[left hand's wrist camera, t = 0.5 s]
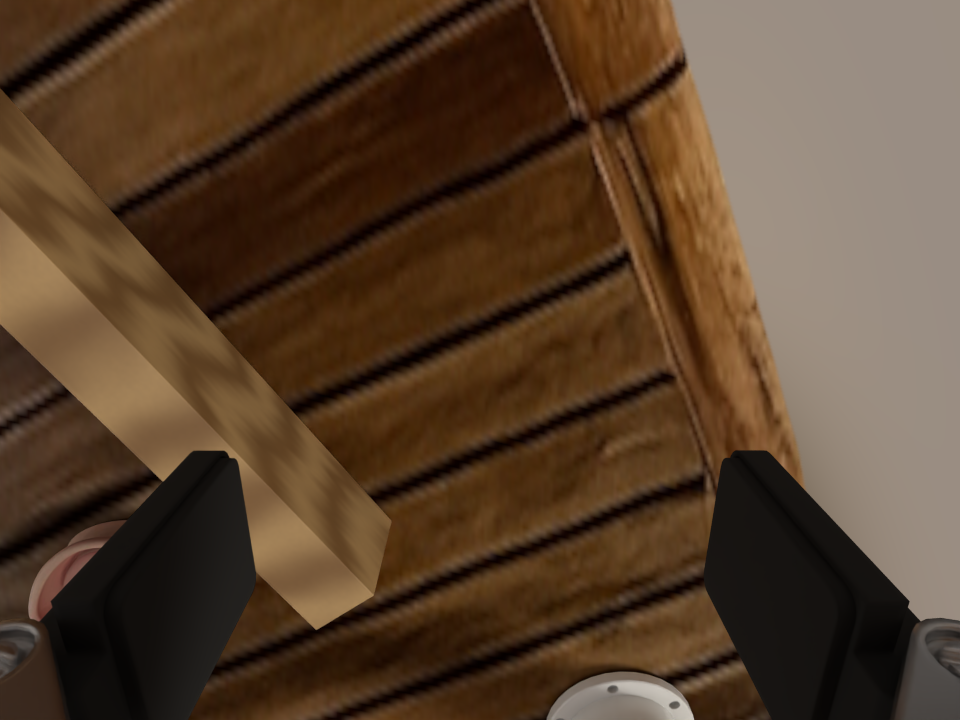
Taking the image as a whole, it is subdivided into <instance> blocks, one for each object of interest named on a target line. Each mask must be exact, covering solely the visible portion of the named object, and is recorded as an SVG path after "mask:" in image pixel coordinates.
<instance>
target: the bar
mask: <svg viewBox="0 0 960 720" xmlns="http://www.w3.org/2000/svg"><path fill="white" fill-rule="evenodd" d="M0 324H1V325H2V326H3V327H4V328H5V329H6V330H7V331H8V332H9V333H10V334H11V335H12V336H13V337H14V338H15V339H16V340H17V341H18V342H19V343H20V344H21V345H22V346H23V347H24V348H26V349H27V350H28V351H29V352H30V353H31V354H32V355H33V356H34V357H35V358H36V359H37V360H38V361H39V362H40V363H41V364H42V365H43V366H44V367H45V368H46V369H47V370H48V371H49V372H50V373H51V374H52V375H53V376H54V377H55V378H56V379H58V380H59V381H60V382H61V383H62V384H63V385H64V386H65V387H66V388H67V389H68V390H69V391H70V392H71V393H72V394H73V395H74V396H75V397H76V398H77V399H78V400H79V401H80V402H81V403H82V404H83V405H84V406H85V407H86V408H87V409H89V410H90V411H91V412H92V413H93V414H94V415H95V416H96V417H97V418H98V419H99V420H100V421H101V422H102V423H103V424H104V425H105V426H106V427H107V428H108V429H109V430H110V431H111V432H112V433H113V434H114V435H115V436H116V437H117V438H118V439H119V440H121V441H122V442H123V443H124V444H125V445H126V446H127V447H128V448H129V449H130V450H131V451H132V452H133V453H134V454H135V455H136V456H137V457H138V458H139V459H140V460H141V461H142V462H143V463H144V464H145V465H146V466H147V467H148V468H149V469H150V470H152V471H153V472H154V473H155V474H156V475H157V476H158V477H159V478H160V479H161V480H162V481H164V480H165V479H166V478H167V477H168V476H169V475H170V474H171V473H172V472H173V471H174V470H175V469H176V468H177V467H178V466H179V464H180V463H181V462H182V461H183V460H184V459H185V458H186V457H187V456H188V455H189V454H190V453H191V452H192V451H226V452H227V453H228V455H229V457H230V458H235V459H236V460H237V461H238V465H239V470H240V476H241V482H242V488H243V495H244V501H245V507H246V513H247V519H248V526H249V532H250V538H251V544H252V550H253V557H254V563H255V569H256V572H257V573H258V574H259V575H260V576H261V577H262V578H263V579H264V580H265V581H266V582H267V583H268V584H269V585H270V586H271V587H272V588H273V589H274V590H275V591H276V592H277V593H279V594H280V595H281V596H282V597H283V598H284V599H285V600H286V601H287V602H288V603H289V604H290V605H291V606H292V607H293V608H294V609H295V610H296V611H297V612H298V613H299V614H300V615H301V616H302V617H303V618H304V619H305V620H306V621H307V622H308V623H310V624H311V625H312V626H313V627H314V628H315V629H316V630H317V629H319V628H320V627H322V626H324V625H325V624H327V623H329V622H330V621H332V620H334V619H335V618H337V617H339V616H340V615H342V614H344V613H345V612H347V611H349V610H350V609H352V608H354V607H355V606H357V605H359V604H360V603H362V602H364V601H365V600H367V599H369V598H370V597H372V596H373V595H374V592H375V588H376V584H377V579H378V575H379V571H380V567H381V563H382V559H383V554H384V550H385V546H386V542H387V538H388V534H389V529H390V525H391V520H390V519H389V518H388V516H387V515H386V514H385V513H384V512H383V511H382V510H381V509H380V508H379V506H378V505H377V504H376V503H375V502H374V501H373V500H372V499H371V498H370V497H369V495H368V494H367V493H366V492H365V491H364V490H363V489H362V488H361V487H360V485H359V484H358V483H357V482H356V481H355V480H354V479H353V478H352V477H351V476H350V474H349V473H348V472H347V471H346V470H345V469H344V468H343V467H342V466H341V464H340V463H339V462H338V461H337V460H336V459H335V458H334V457H333V456H332V455H331V453H330V452H329V451H328V450H327V449H326V448H325V447H324V446H323V445H322V443H321V442H320V441H319V440H318V439H317V438H316V437H315V436H314V435H313V434H312V432H311V431H310V430H309V429H308V428H307V427H306V426H305V425H304V424H303V422H302V421H301V420H300V419H299V418H298V417H297V416H296V415H295V414H294V413H293V411H292V410H291V409H290V408H289V407H288V406H287V405H286V404H285V403H284V401H283V400H282V399H281V398H280V397H279V396H278V395H277V394H276V393H275V392H274V390H273V389H272V388H271V387H270V386H269V385H268V384H267V383H266V382H265V380H264V379H263V378H262V377H261V376H260V375H259V374H258V373H257V372H256V371H255V369H254V368H253V367H252V366H251V365H250V364H249V363H248V362H247V361H246V359H245V358H244V357H243V356H242V355H241V354H240V353H239V352H238V351H237V350H236V348H235V347H234V346H233V345H232V344H231V343H230V342H229V341H228V340H227V338H226V337H225V336H224V335H223V334H222V333H221V332H220V331H219V330H218V329H217V327H216V326H215V325H214V324H213V323H212V322H211V321H210V320H209V319H208V317H207V316H206V315H205V314H204V313H203V312H202V311H201V310H200V309H199V308H198V306H197V305H196V304H195V303H194V302H193V301H192V300H191V299H190V298H189V296H188V295H187V294H186V293H185V292H184V291H183V290H182V289H181V288H180V287H179V285H178V284H177V283H176V282H175V281H174V280H173V279H172V278H171V277H170V275H169V274H168V273H167V272H166V271H165V270H164V269H163V268H162V267H161V266H160V264H159V263H158V262H157V261H156V260H155V259H154V258H153V257H152V256H151V254H150V253H149V252H148V251H147V250H146V249H145V248H144V247H143V246H142V245H141V243H140V242H139V241H138V240H137V239H136V238H135V237H134V236H133V235H132V233H131V232H130V231H129V230H128V229H127V228H126V227H125V226H124V225H123V224H122V222H121V221H120V220H119V219H118V218H117V217H116V216H115V215H114V214H113V212H112V211H111V210H110V209H109V208H108V207H107V206H106V205H105V204H104V203H103V201H102V200H101V199H100V198H99V197H98V196H97V195H96V194H95V193H94V191H93V190H92V189H91V188H90V187H89V186H88V185H87V184H86V183H85V182H84V180H83V179H82V178H81V177H80V176H79V175H78V174H77V173H76V172H75V170H74V169H73V168H72V167H71V166H70V165H69V164H68V163H67V162H66V161H65V159H64V158H63V157H62V156H61V155H60V154H59V153H58V152H57V151H56V150H55V148H54V147H53V146H52V145H51V144H50V143H49V142H48V141H47V140H46V138H45V137H44V136H43V135H42V134H41V133H40V132H39V131H38V130H37V129H36V127H35V126H34V125H33V124H32V123H31V122H30V121H29V120H28V119H27V117H26V116H25V115H24V114H23V113H22V112H21V111H20V110H19V109H18V108H17V106H16V105H15V104H14V103H13V102H12V101H11V100H10V99H9V98H8V96H7V95H6V94H5V93H4V92H3V91H2V90H1V89H0Z"/></svg>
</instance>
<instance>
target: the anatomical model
mask: <svg viewBox="0 0 960 720" xmlns="http://www.w3.org/2000/svg"><path fill="white" fill-rule="evenodd" d="M126 521H127V520H120V521H111V522H106V523H101V524H98V525H95V526H92V527H90V528H87V529H85V530H83V531H82V532H80V533H79V534H77V535H76V536H75V537H74V538H73V539H72V540H71V541H70V543H69V544H68V546H67V547H65V548H64V549H62V550H61V551H59V552H58V553H57V554H55V555H54V556H53V557H52V558H51V559H49V560H48V561H47V562H46V563H45V565H44V566H43V567H42V568H41V570H40V571H39V573H38V575H37V577H36V579H35V581H34V583H33V586H32V589H31V593H30V598H29V606H28V610H29V617H30V619H35V620H37V621H40V620H41V619H42V618H43V617H44V616H45V615H46V614H47V613H48V612H49V610H50V609H51V608H52V605H51V602H50V601H51V600H52V599H53V598H54V597H55V596H56V595H57V594H58V593H59V592H60V591H61V590H62V589H63V588H64V587H65V585H66V584H67V583H68V582H69V581H70V580H71V579H72V578H73V577H74V576H75V575H76V574H77V573H78V572H79V571H80V570H81V568H82V567H83V566H84V565H85V564H86V563H87V562H88V561H89V560H90V559H91V558H92V557H93V556H94V555H95V554H96V553H97V551H98V550H99V549H100V548H101V547H102V546H103V545H104V544H105V543H106V542H107V541H108V540H109V539H110V538H111V537H112V536H113V535H114V533H115V532H116V531H117V530H118V529H119V528H120V527H121V526H122V525H123V524H124V523H125V522H126Z"/></svg>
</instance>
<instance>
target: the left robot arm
mask: <svg viewBox="0 0 960 720" xmlns="http://www.w3.org/2000/svg"><path fill="white" fill-rule="evenodd" d="M255 582H256V569H255V563H254V557H253V550H252V544H251V538H250V532H249V526H248V519H247V513H246V507H245V501H244V495H243V488H242V482H241V476H240V470H239V465H238V461H237V460H236V459H235V458H230V457H229V455H228V453H227V452H226V451H192V452H191V453H190V454H189V455H188V456H187V457H186V458H185V459H184V460H183V461H182V462H181V463H180V464H179V466H178V467H177V468H176V469H175V470H174V471H173V472H172V473H171V474H170V475H169V476H168V477H167V478H166V479H165V480H164V481H163V482H162V484H161V485H160V486H159V487H158V488H157V489H156V490H155V491H154V492H153V493H152V494H151V495H150V496H149V497H148V498H147V499H146V501H145V502H144V503H143V504H142V505H141V506H140V507H139V508H138V509H137V510H136V511H135V512H134V513H133V514H132V515H131V516H130V518H129V519H128V520H127V521H126V522H125V523H124V524H123V525H122V526H121V527H120V528H119V529H118V530H117V531H116V532H115V533H114V535H113V536H112V537H111V538H110V539H109V540H108V541H107V542H106V543H105V544H104V545H103V546H102V547H101V548H100V549H99V550H98V551H97V553H96V554H95V555H94V556H93V557H92V558H91V559H90V560H89V561H88V562H87V563H86V564H85V565H84V566H83V567H82V568H81V570H80V571H79V572H78V573H77V574H76V575H75V576H74V577H73V578H72V579H71V580H70V581H69V582H68V583H67V584H66V585H65V587H64V588H63V589H62V590H61V591H60V592H59V593H58V594H57V595H56V596H55V597H54V598H53V599H52V600H51V601H50V602H51V605H52V608H51V609H50V610H49V612H48V613H47V614H46V615H45V616H44V617H43V618H42V619H41V620H40V621H37V620H35V619H26V618H16V619H9V620H2V621H0V720H188V718H189V716H190V714H191V712H192V710H193V708H194V707H195V705H196V703H197V701H198V699H199V697H200V695H201V693H202V691H203V689H204V687H205V685H206V683H207V681H208V679H209V677H210V675H211V673H212V671H213V669H214V667H215V665H216V663H217V661H218V659H219V657H220V655H221V653H222V651H223V650H224V648H225V646H226V644H227V642H228V640H229V638H230V636H231V634H232V632H233V630H234V628H235V626H236V624H237V622H238V620H239V618H240V616H241V614H242V612H243V610H244V608H245V606H246V604H247V602H248V600H249V598H250V596H251V594H252V592H253V590H254V587H255ZM704 582H705V587H706V590H707V592H708V595H709V596H710V598H711V600H712V602H713V604H714V606H715V608H716V610H717V612H718V614H719V616H720V618H721V620H722V622H723V624H724V626H725V628H726V630H727V632H728V634H729V636H730V638H731V640H732V642H733V644H734V646H735V648H736V650H737V651H738V653H739V655H740V657H741V659H742V661H743V663H744V665H745V667H746V669H747V671H748V673H749V675H750V677H751V679H752V681H753V683H754V685H755V687H756V689H757V691H758V693H759V695H760V697H761V699H762V701H763V703H764V705H765V707H766V708H767V710H768V712H769V714H770V716H771V718H772V720H960V621H958V620H951V619H944V618H934V619H925V620H923V621H920V620H919V619H918V618H917V617H916V616H915V615H914V614H913V613H912V612H911V610H910V609H909V608H908V605H909V600H908V599H907V598H906V597H905V596H904V595H903V594H902V593H901V592H900V591H899V590H898V589H897V588H896V587H895V585H894V584H893V583H892V582H891V581H890V580H889V579H888V578H887V577H886V576H885V575H884V574H883V573H882V572H881V571H880V570H879V568H878V567H877V566H876V565H875V564H874V563H873V562H872V561H871V560H870V559H869V558H868V557H867V556H866V555H865V554H864V553H863V552H862V550H861V549H860V548H859V547H858V546H857V545H856V544H855V543H854V542H853V541H852V540H851V539H850V538H849V537H848V536H847V535H846V534H845V532H844V531H843V530H842V529H841V528H840V527H839V526H838V525H837V524H836V523H835V522H834V521H833V520H832V519H831V518H830V516H829V515H828V514H827V513H826V512H825V511H824V510H823V509H822V508H821V507H820V506H819V505H818V504H817V503H816V502H815V501H814V499H813V498H812V497H811V496H810V495H809V494H808V493H807V492H806V491H805V490H804V489H803V488H802V487H801V486H800V485H799V484H798V482H797V481H796V480H795V479H794V478H793V477H792V476H791V475H790V474H789V473H788V472H787V471H786V470H785V469H784V468H783V467H782V466H781V464H780V463H779V462H778V461H777V460H776V459H775V458H774V457H773V456H772V455H771V454H770V453H769V452H768V451H734V452H733V453H732V455H731V457H730V458H725V459H724V460H723V461H722V465H721V470H720V476H719V482H718V488H717V495H716V501H715V507H714V513H713V519H712V526H711V532H710V538H709V544H708V550H707V556H706V563H705V569H704ZM547 720H694V717H693V714H692V712H691V709H690V707H689V704H688V702H687V701H686V699H685V698H684V696H683V695H682V694H681V693H680V692H679V691H678V690H677V689H676V688H675V687H674V686H672V685H671V684H669V683H667V682H666V681H664V680H662V679H660V678H657V677H654V676H651V675H648V674H643V673H637V672H612V673H605V674H601V675H597V676H593V677H590V678H588V679H586V680H583V681H581V682H579V683H577V684H576V685H574V686H573V687H571V688H569V689H568V690H567V691H566V692H565V693H563V694H562V695H561V696H560V697H559V698H558V699H557V701H556V702H555V703H554V705H553V706H552V707H551V710H550V712H549V714H548V716H547Z"/></svg>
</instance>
